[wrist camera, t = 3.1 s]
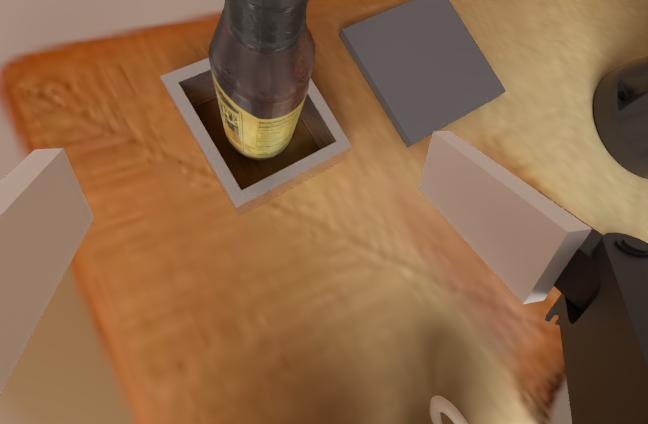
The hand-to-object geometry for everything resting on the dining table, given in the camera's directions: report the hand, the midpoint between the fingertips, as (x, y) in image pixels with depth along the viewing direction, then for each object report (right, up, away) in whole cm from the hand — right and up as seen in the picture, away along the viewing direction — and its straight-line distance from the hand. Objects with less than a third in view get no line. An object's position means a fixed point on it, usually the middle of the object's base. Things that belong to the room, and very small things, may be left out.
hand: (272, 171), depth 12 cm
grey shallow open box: (-4, +6, +19) cm, 20 cm away
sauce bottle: (-4, +6, +19) cm, 20 cm away
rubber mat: (+13, +15, +24) cm, 31 cm away
